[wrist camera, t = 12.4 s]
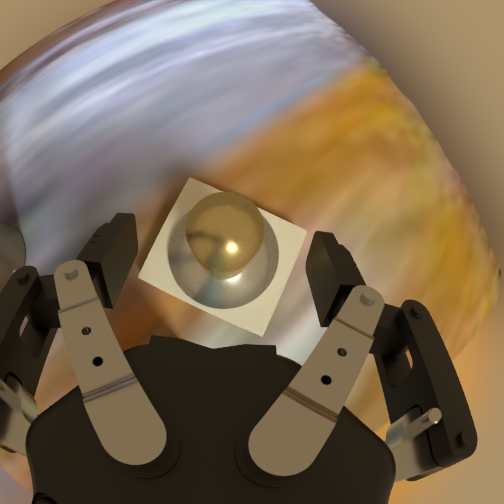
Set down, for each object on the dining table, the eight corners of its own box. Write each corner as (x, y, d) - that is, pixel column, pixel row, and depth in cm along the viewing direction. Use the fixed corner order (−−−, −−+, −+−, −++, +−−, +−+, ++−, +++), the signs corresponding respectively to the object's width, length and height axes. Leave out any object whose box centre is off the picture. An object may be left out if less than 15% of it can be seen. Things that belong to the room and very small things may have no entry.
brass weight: (189, 266, 27) (171, 247, 17) (211, 221, 28) (207, 180, 18) (235, 288, 27) (244, 282, 17) (256, 242, 28) (276, 211, 18)
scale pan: (152, 279, 27) (150, 279, 26) (199, 186, 29) (199, 183, 28) (250, 326, 27) (251, 327, 26) (293, 229, 29) (295, 227, 28)
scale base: (145, 279, 30) (137, 277, 27) (193, 185, 32) (190, 175, 29) (258, 333, 30) (262, 336, 27) (300, 235, 32) (308, 229, 29)
